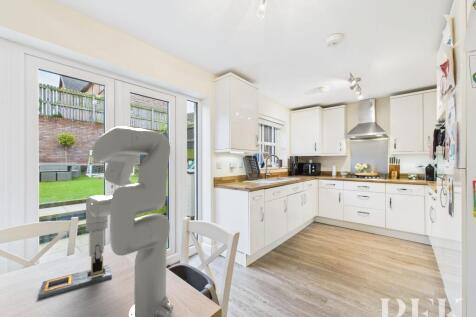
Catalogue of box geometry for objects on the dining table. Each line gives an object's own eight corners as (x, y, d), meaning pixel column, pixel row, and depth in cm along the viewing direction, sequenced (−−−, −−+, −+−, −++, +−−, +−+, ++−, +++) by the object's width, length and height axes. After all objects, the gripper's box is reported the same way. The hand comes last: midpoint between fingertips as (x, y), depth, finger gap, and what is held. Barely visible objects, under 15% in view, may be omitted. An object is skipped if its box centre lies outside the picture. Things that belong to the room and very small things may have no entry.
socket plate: (109, 267, 93) (109, 264, 93) (111, 278, 85) (111, 274, 85) (43, 285, 80) (43, 281, 80) (38, 299, 72) (38, 294, 72)
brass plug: (102, 269, 89) (102, 253, 89) (103, 273, 86) (103, 256, 86) (91, 272, 87) (91, 255, 87) (91, 276, 83) (91, 259, 83)
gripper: (85, 222, 91) (85, 263, 91) (86, 232, 77) (86, 281, 77) (106, 219, 95) (106, 258, 95) (109, 228, 82) (109, 274, 82)
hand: (97, 268), depth 86 cm, fingers closed on brass plug, 4 cm apart
